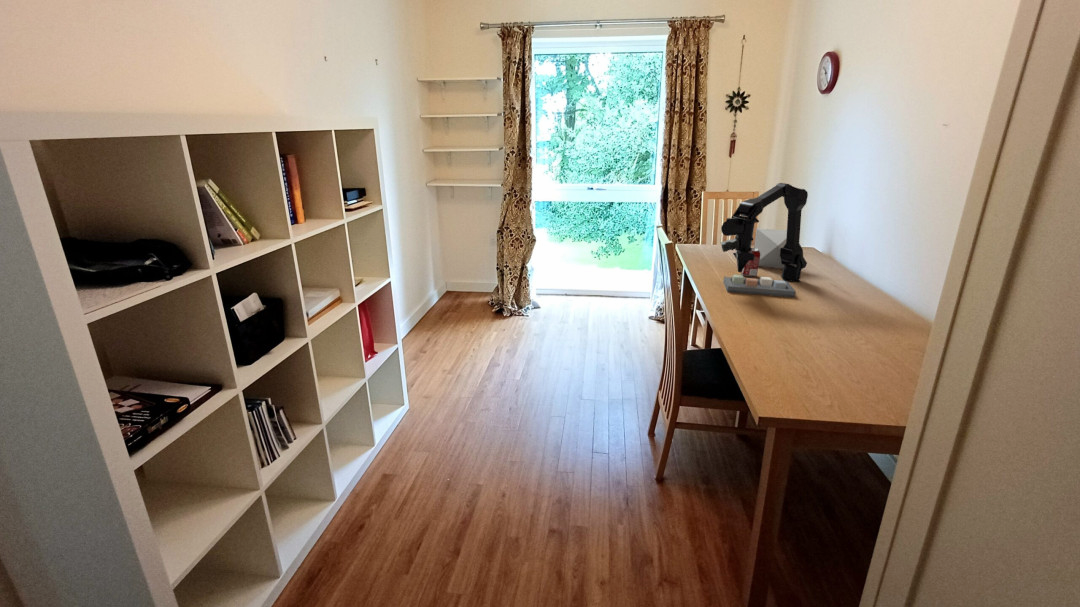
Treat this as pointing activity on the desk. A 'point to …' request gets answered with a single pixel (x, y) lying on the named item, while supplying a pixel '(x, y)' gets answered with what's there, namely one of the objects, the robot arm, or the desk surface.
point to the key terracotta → (751, 282)
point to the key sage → (738, 279)
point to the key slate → (779, 284)
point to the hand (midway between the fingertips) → (739, 271)
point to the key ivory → (766, 281)
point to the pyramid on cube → (770, 246)
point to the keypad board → (758, 288)
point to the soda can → (752, 265)
